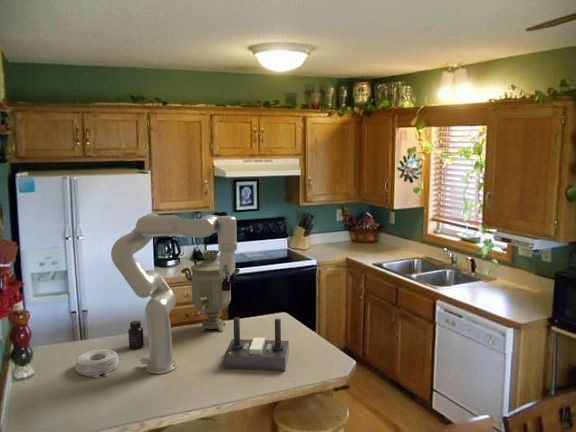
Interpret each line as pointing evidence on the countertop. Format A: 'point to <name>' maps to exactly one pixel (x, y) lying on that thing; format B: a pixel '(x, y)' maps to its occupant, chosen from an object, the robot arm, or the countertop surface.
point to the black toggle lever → (277, 336)
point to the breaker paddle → (257, 346)
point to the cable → (96, 362)
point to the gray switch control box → (256, 357)
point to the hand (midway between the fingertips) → (228, 287)
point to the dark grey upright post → (237, 335)
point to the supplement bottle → (135, 335)
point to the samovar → (209, 289)
